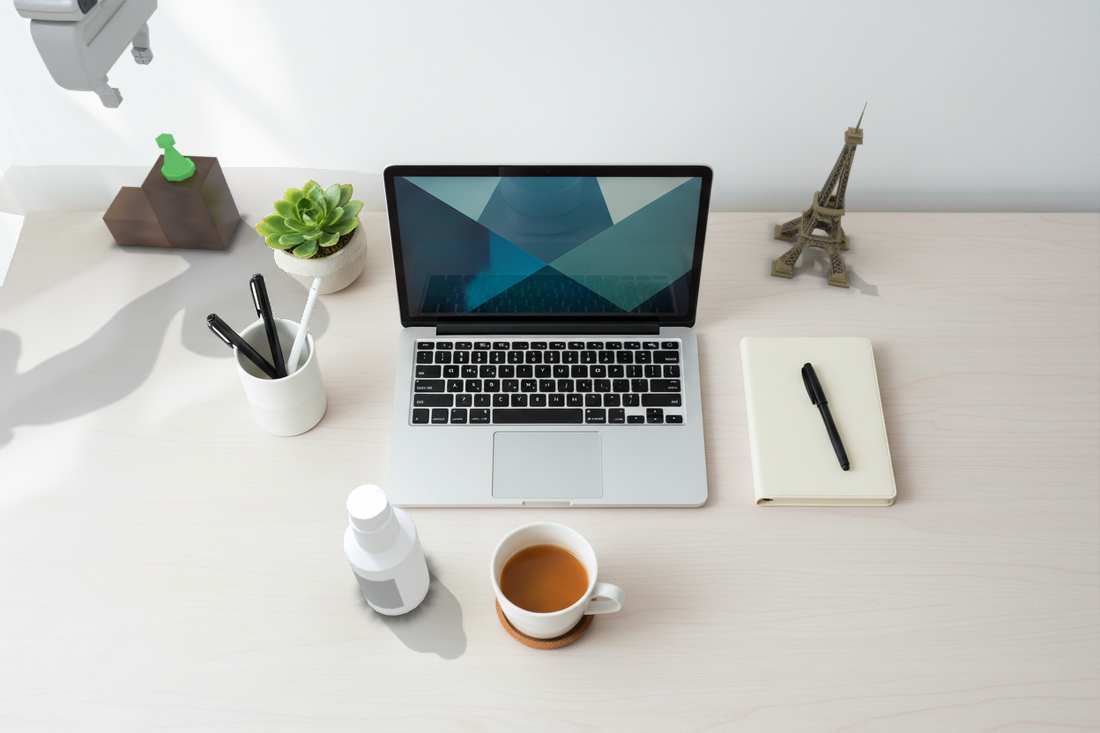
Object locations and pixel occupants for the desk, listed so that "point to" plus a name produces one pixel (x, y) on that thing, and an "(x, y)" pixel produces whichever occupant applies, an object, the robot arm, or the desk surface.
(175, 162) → the game piece
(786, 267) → the eiffel tower
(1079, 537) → the desk surface
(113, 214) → the stepped wooden block
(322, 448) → the desk surface
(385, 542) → the white bottle
